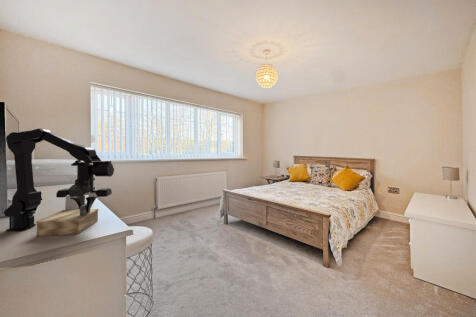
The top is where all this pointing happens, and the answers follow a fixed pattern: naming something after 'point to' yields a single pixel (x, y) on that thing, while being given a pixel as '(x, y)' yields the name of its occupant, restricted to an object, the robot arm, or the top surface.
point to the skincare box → (70, 204)
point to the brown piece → (66, 226)
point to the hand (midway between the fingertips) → (85, 212)
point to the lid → (68, 215)
